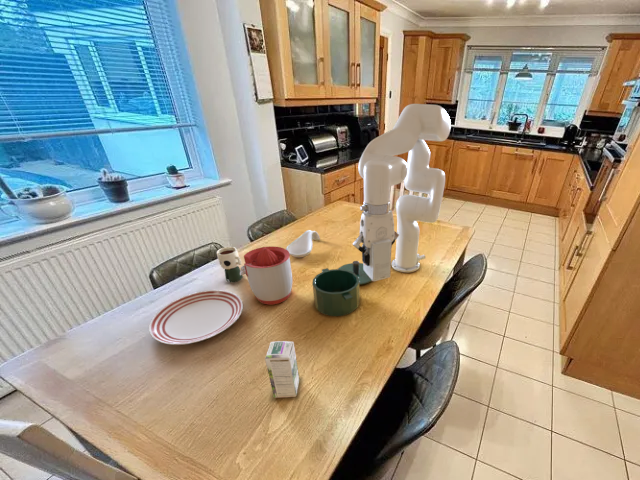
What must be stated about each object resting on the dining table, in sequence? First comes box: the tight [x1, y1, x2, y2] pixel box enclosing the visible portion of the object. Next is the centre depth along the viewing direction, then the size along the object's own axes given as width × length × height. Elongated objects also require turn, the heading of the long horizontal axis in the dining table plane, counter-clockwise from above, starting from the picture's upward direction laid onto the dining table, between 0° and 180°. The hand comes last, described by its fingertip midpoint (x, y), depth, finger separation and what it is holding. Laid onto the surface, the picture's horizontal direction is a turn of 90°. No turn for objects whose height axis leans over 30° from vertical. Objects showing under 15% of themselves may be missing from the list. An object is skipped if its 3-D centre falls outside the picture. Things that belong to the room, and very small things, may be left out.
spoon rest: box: [285, 229, 321, 258], centre depth 146 cm, size 24×12×7 cm, turn 167°
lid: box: [337, 260, 373, 286], centre depth 128 cm, size 17×17×6 cm
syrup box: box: [264, 340, 300, 399], centre depth 77 cm, size 6×6×14 cm
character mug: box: [216, 246, 244, 283], centre depth 120 cm, size 11×7×13 cm, turn 70°
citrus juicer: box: [240, 245, 293, 305], centre depth 109 cm, size 16×17×20 cm
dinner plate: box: [148, 289, 244, 346], centre depth 101 cm, size 28×27×3 cm
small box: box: [362, 239, 393, 282], centre depth 97 cm, size 8×6×13 cm
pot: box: [312, 267, 361, 317], centre depth 110 cm, size 16×22×10 cm
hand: (376, 260), depth 98 cm, fingers closed on small box, 6 cm apart
